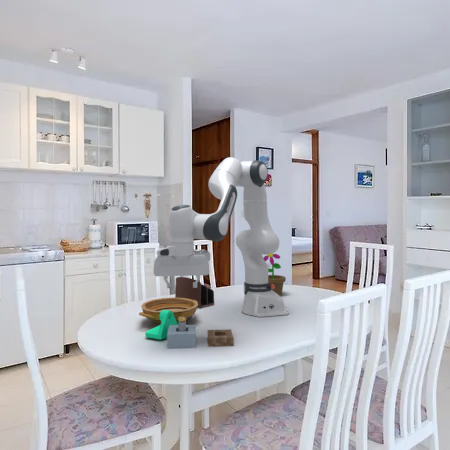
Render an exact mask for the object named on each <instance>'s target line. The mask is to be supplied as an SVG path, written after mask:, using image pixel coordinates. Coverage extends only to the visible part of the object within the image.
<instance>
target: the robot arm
mask: <svg viewBox="0 0 450 450" xmlns="http://www.w3.org/2000/svg"><path fill="white" fill-rule="evenodd" d="M268 174H269V171H268V166H267V165H266V163H265V162H264V161H263V160H258V159H257V160H244V161H240V160H239V159H238V158H235V157H232V156H230V157H226V158H224V159H223V160H222V161H221V162H220V163H219V164H218V166H217V167H216V169H214V171H213V173H212V174H211V175H210V178H209V179H208V189H209V191H210V193H211V194H212V195H213V196H214V197H215V198H216V199H218V200H220V203H219V205H218V208H217V210H216V211H215V212H213V213H210V214H209V213H207V214H206V213H198V212H196V211H195V210H194V209H192V206H191V205H190V204H181V205H176V206H173V207H172V208H171V209H170V211H169V217H168V218H169V219H168V230H169V237H170V238H169V240H168V243H169V244H168V245H167V246H166V245H165V246H164V247H160V248H158V249H157V250H156V255H157V256H156V258H155V259H154V263H153V275H154V276H155V277H163V281H164V282H165V284H166V288H167V289H172V282H169V281H168V279H169V277H185V276H186V277H189V276H190V277H191V276H192V277H193V276H194V277H195V278H196V279H195V280H196V282H193V288H197V283H198V281H199V282H200V279H201V276H208V275H210V270H211V269H210V263H209V262H210V261H211V253H210V251H209V250H206V249H194V248H195V247H194V246H195V244H194V243H195V241H194V240H199V241H200V240H202V241H211V242H215V243H216V242H217V243H218V242H220V241H222V240H224V238H226V236H227V235H228V231H229V225H230V221H231V217H232V214H233V212H234V208H235V206H236V203H237V199H238V190H237V187H243V192H242V193H243V194H242V195H243V196H242V197H243V198H242V199H243V200H242V202H243V203H242V204H243V218H244V220H245V221H246V222H247V223H248V226H249V228H250V229H244V230H241V231H239V232H237V235H236V236H235V244H236V246H237V247H238V249H239V251H240V253H241V256H242V260H243V263H244V283H243V293H244V295H243V296H244V298H243V303H242V307H241V313H243V314H245V315H250V316H252V317H253V316H254V317H256V318H263V317H264V318H265V317H277V316H288V315H289V314H290V309H289V308H288V307H286V306H285V301H284V299H283V297H282V296H279V295H278V294H277V293H275V292H274V291H273V290H272V289H274V288H275V286H274V284H271V283H270V282H268V275H269V272H268V269H269V266H268V265H269V264H268V263H267V261H264V259H263V258H264V257H263V255H264V256H266V255H267V254H272V253H273V254H276V252H277V251H278V250H279V247H280V239H279V238H280V237H279V236H278V234H276V233H275V231H274V230H273V228H272V226H271V222H270V220H269V212H268V198H267V197H268V196H267V190H266V185H265V183H266V181H267V179H268Z"/></svg>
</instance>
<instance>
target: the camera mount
mask: <svg viewBox="0 0 450 450" xmlns="http://www.w3.org/2000/svg"><path fill="white" fill-rule="evenodd" d="M160 320H161V321H162V322H161V325H157V326H155V327H153V328H151V329H148V330H146V331H145V333H144V335H145V338H149V339H150V338H151V339H155V340H162V339H165V340H166V339H167V334H168V329H169V325H178V324H177V321H176V319H175V317H174V314H173V312H172V311H169V310H162V311H161V313H160Z"/></svg>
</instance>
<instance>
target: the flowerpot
mask: <svg viewBox="0 0 450 450" xmlns="http://www.w3.org/2000/svg"><path fill="white" fill-rule="evenodd" d="M263 259H264V261H265V262H267V261H268V260H269V264H270V265H271V268H268V273H271V274H268V282H270V283H271V284H274V286H275V288H274V289H272V290H273V291H274V292H275V293H277V294H278V295H279V296H280V297H282V295H283V288H284V283H285V282H286V276H284V275H279V274H275V270H274V269H276V270H277V269H281V268H282V267H281V265H280V264H279V263H277V262H275V259H277V260H278V259H281V255H279V254H277V253H272V254H266V255H264V257H263Z"/></svg>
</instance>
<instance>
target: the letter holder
mask: <svg viewBox="0 0 450 450" xmlns="http://www.w3.org/2000/svg"><path fill="white" fill-rule="evenodd" d="M196 280H197V279H195V278H191V277H188V276H186V277H185V276H176V277H175V289H174V290H175V291H174V293H175V294H174V295H175V296H174V298H186V299H191V300H196V301H197V302H198V306H197V309H199V310H201V309H204V308H208V307H212V306H214V305H215V291H214V290H213V289H211V288H210V287H207V286H206V285H205V284H202V283H201V281H200V280H199V281H198V283H197V288H193V282H196Z"/></svg>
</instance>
